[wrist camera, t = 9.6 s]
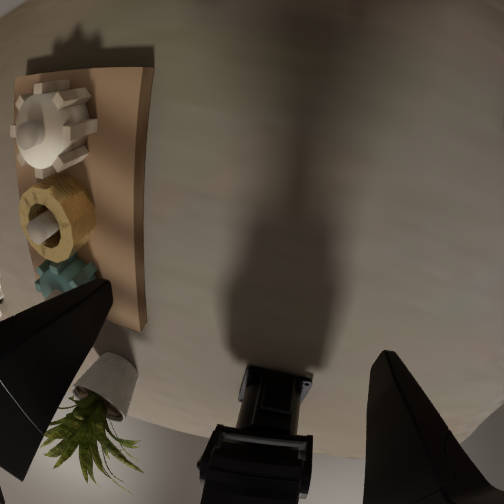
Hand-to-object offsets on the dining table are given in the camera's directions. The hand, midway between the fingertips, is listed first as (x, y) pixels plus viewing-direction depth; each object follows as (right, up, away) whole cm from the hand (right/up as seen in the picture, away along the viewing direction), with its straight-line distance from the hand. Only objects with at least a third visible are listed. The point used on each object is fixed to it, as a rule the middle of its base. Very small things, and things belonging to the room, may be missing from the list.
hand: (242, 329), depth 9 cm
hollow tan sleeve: (-14, +6, +12) cm, 19 cm away
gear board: (-14, +6, +13) cm, 20 cm away
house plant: (-16, -13, +25) cm, 33 cm away
